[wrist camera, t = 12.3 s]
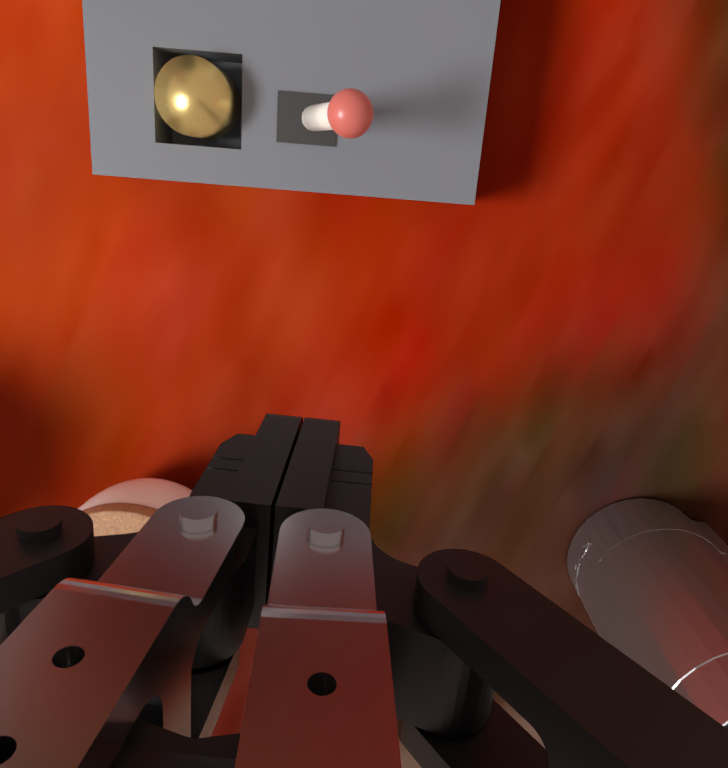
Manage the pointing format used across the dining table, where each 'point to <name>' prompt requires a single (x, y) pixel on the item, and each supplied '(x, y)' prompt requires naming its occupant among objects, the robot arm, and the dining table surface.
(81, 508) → the lidded jar
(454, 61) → the panel
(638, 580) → the robot arm
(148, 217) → the dining table surface
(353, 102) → the toggle lever
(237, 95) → the button brass
